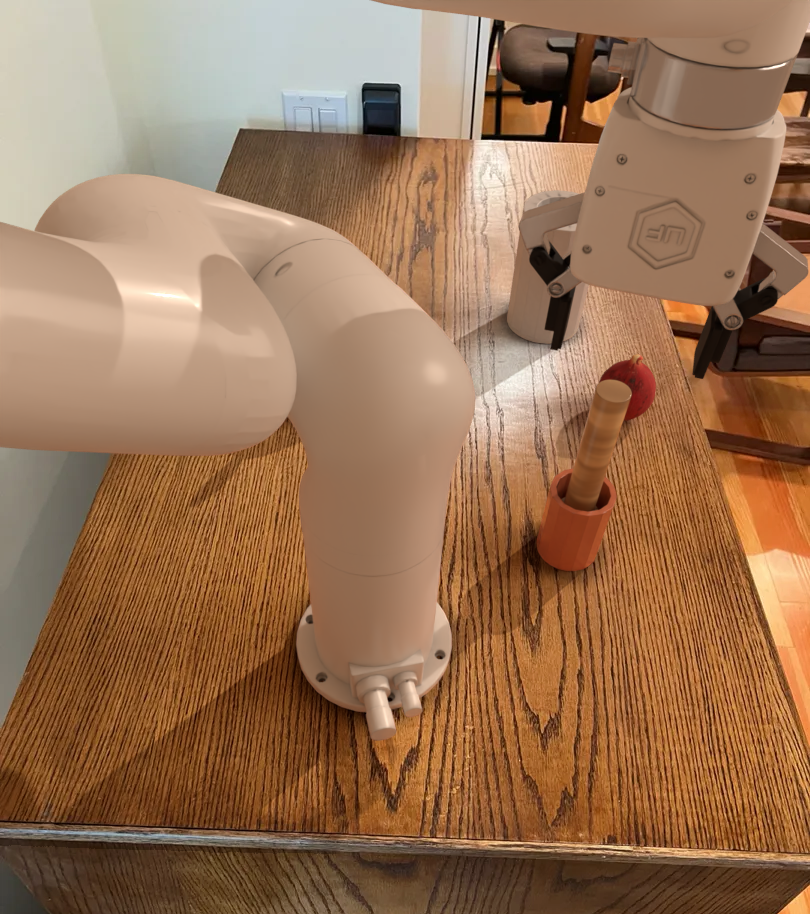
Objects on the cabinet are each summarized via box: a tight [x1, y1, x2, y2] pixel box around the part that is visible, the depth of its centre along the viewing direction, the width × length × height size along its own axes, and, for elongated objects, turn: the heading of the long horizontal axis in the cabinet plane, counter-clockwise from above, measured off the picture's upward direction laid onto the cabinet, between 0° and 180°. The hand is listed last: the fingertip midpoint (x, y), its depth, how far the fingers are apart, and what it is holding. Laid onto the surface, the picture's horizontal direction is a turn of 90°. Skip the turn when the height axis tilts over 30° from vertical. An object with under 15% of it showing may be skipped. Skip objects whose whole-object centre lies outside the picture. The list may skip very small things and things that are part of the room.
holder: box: [535, 468, 618, 572], centre depth 67 cm, size 5×6×8 cm
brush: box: [561, 380, 632, 512], centre depth 62 cm, size 4×4×18 cm
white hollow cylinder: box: [506, 189, 590, 345], centre depth 87 cm, size 9×9×14 cm
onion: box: [598, 353, 657, 421], centre depth 79 cm, size 6×6×8 cm
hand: (627, 352), depth 53 cm, fingers open, 9 cm apart
